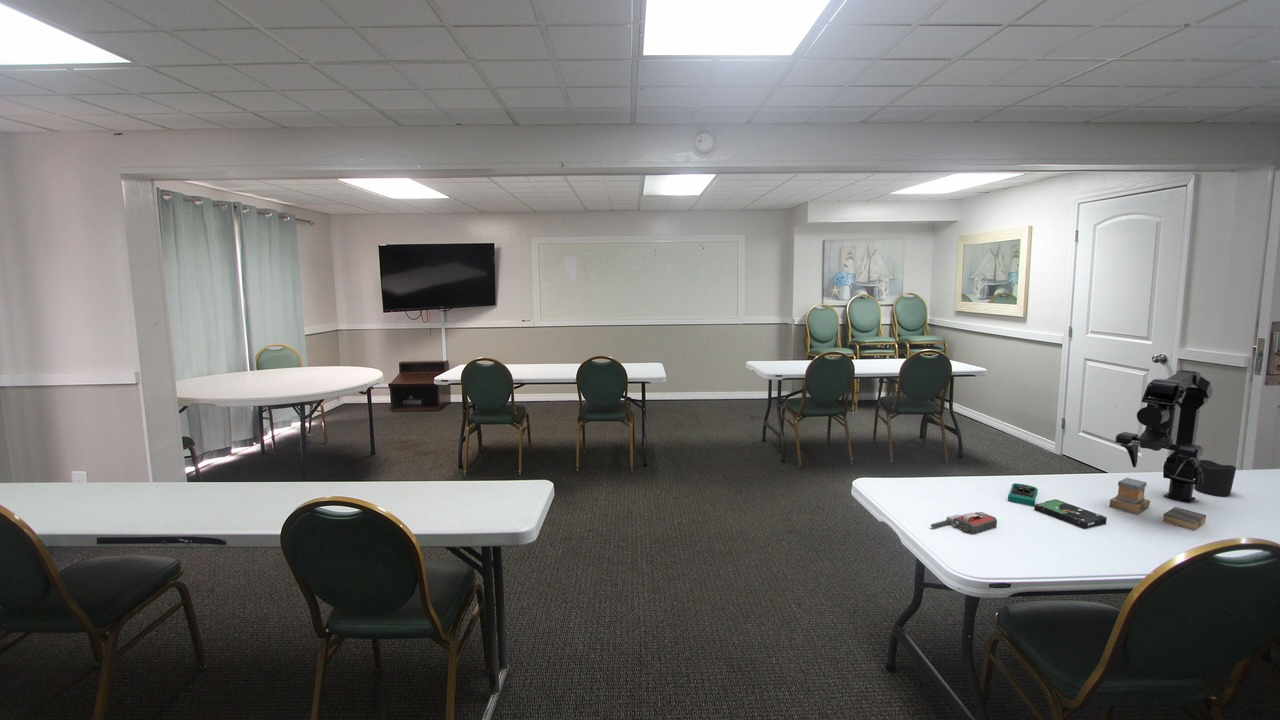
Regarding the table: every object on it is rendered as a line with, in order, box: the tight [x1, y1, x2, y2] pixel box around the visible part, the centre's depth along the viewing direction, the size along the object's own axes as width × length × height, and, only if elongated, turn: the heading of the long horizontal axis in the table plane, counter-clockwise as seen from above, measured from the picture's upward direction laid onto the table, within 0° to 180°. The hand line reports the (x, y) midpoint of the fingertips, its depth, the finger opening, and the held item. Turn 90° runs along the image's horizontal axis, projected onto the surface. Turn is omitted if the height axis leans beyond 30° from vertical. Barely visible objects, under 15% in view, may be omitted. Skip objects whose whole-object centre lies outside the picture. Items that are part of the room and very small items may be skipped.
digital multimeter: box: [1007, 482, 1039, 507], centre depth 186 cm, size 7×15×3 cm, turn 142°
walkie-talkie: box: [930, 511, 998, 535], centre depth 163 cm, size 9×4×20 cm
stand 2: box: [1162, 506, 1207, 531], centre depth 167 cm, size 10×7×2 cm
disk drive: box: [1033, 499, 1108, 530], centre depth 171 cm, size 10×3×15 cm
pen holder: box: [1193, 459, 1237, 498], centre depth 191 cm, size 9×9×10 cm
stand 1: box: [1108, 496, 1151, 515], centre depth 178 cm, size 10×7×2 cm
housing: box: [1115, 477, 1147, 505], centre depth 177 cm, size 7×5×6 cm
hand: (1153, 471), depth 169 cm, fingers open, 9 cm apart
